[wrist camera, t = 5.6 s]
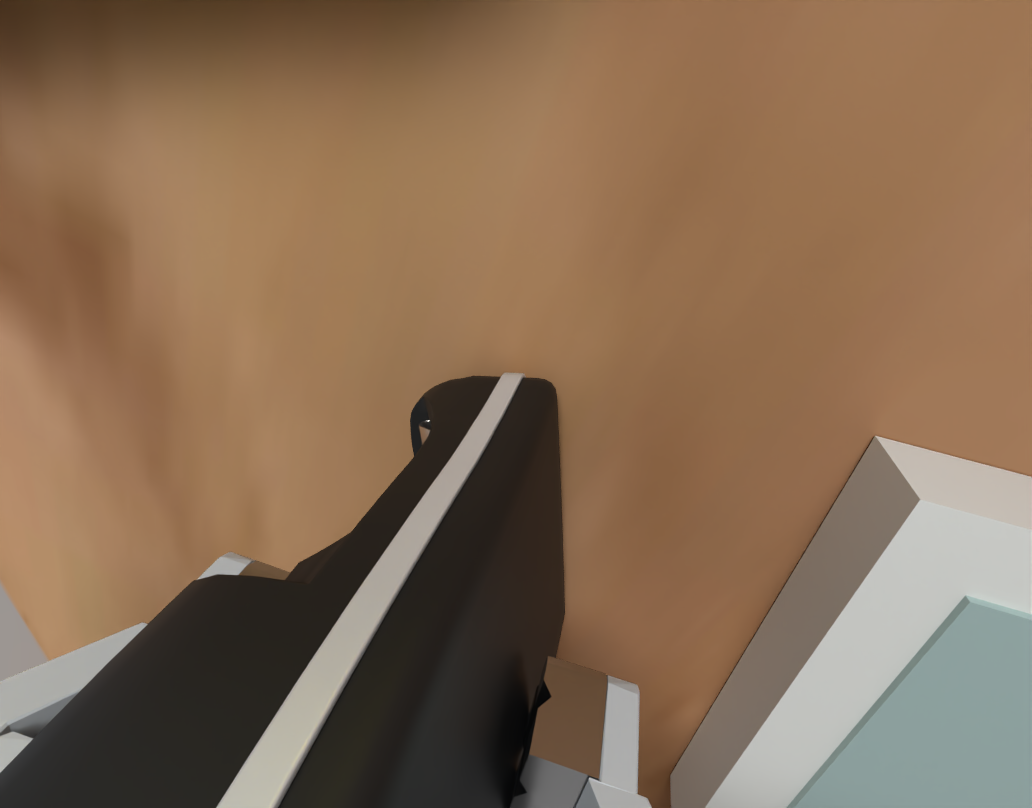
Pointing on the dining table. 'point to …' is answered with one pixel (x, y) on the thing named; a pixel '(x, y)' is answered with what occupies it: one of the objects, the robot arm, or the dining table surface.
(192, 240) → the dining table surface
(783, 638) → the plate
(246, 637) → the battery charger
